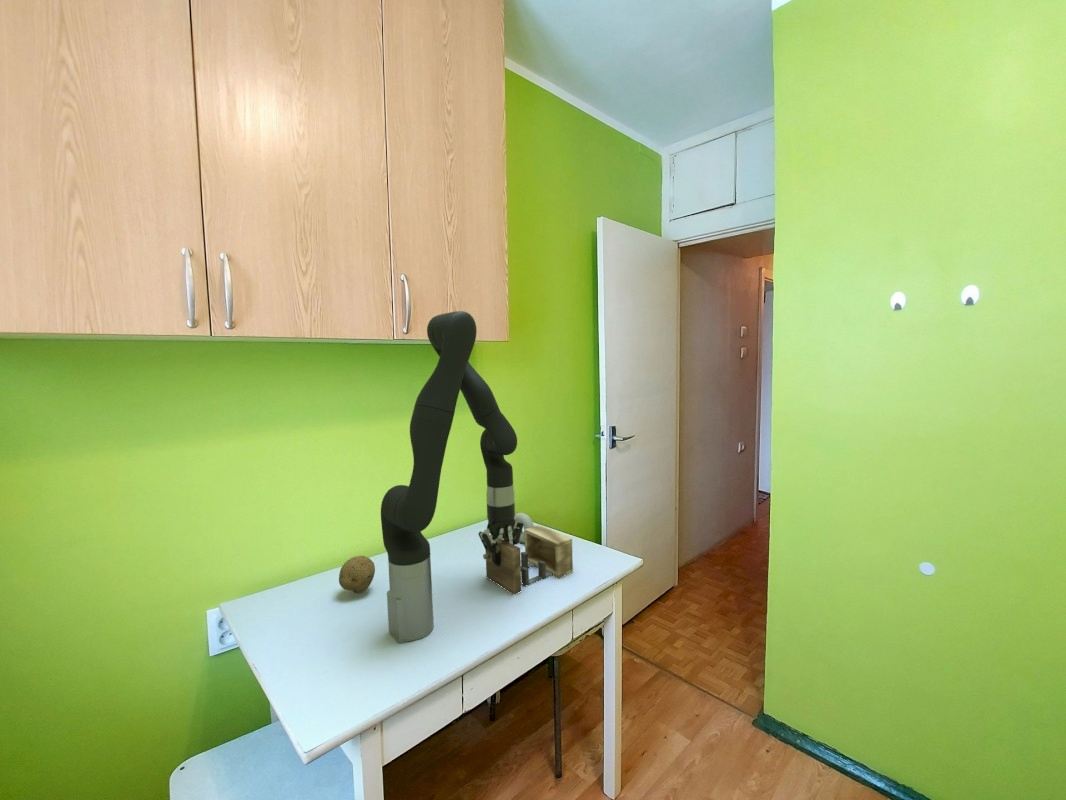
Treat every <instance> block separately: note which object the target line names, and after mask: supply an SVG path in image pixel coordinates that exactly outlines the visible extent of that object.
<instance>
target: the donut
mask: <svg viewBox="0 0 1066 800" xmlns="http://www.w3.org/2000/svg"><path fill="white" fill-rule="evenodd" d="M514 519H515V521H518V522H521V523H523V530H522V532H521V535H520V539H519V543H524V544H525V529H527V528H530V527H534V526H535V525H534V521H533V520H532V519H531V517H530V516H529V515H528V514H527V513H525V512H518V513H515V517H514ZM512 531H513V530H512ZM515 537H516V536H515Z"/></svg>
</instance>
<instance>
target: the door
mask: <svg viewBox="0 0 1066 800" xmlns="http://www.w3.org/2000/svg"><path fill="white" fill-rule="evenodd" d="M489 537H490V538H489V540H490V542H491V534H489ZM499 552H500V566H496V565H495V564H494V563H493V562H492V553H491V552H489V551H487V550H485V553H483V554H482V557H483V559H484V560H485V572H486V575H485V576H486V577H488V578H489V579H491V580H492V581H491V580H490V581H491V582H493V581H494V582H495V583H494V582H493V583H494V584H496V583H497V584H499V585H500V586H502V587H503V588H505V589H506V590H505V589H504V590H505V591H507V590H508V591H509V592H508V591H507V592H508V593H510V592H511V593H512V595H513V594H515V595H517V594H516V593H518V592H520V591H521V592H522V580H521V548H520V547H519V546H517V545H516V544H515V545H513V544H511V543H509V542H507V541H505V540H504V539H502V543H501V544H500V551H499ZM486 577H485V578H486ZM488 578H487V579H488ZM489 579H488V580H489ZM497 584H496V585H497ZM499 585H498V586H499ZM500 586H499V587H500ZM502 587H501V588H502ZM503 588H502V589H503ZM521 592H520V593H521ZM511 593H510V594H511ZM518 594H519V593H518Z"/></svg>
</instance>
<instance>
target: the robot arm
mask: <svg viewBox="0 0 1066 800" xmlns="http://www.w3.org/2000/svg"><path fill="white" fill-rule="evenodd" d="M426 334H427V338H428V340H429V343H430V344H431V346H432V348H433V349H434V351H435V353H436V354H437V356H438V357H439V358H438V361H437V364H436V367H435V368H434V370H433V372H432V373H431V375H430V377H429V378H428V379H427V380H426V382H425V383H424V385H423V387H422V388H421V389H420V392H419V394H418V395H417V397H416V400H415V402H414V406H413V411H412V415H411V417H410V421H409V422H410V423H409V438H410V444H411V449H412V455H413V467H412V474H411V477H410V480H409V484H408V485H404V484H398V485H395V486H392V487H391V488H390V489H388V490H387V492H385V494H384V495H383V497H382V501H381V504H380V521H381V531H382V532H381V533H382V541H383V542H382V543H383V545H384V548H385V552H386V553H387V560H388V561H387V565H388V579H389V581H388V582H389V590H387V592H386V602H387V604H386V605H387V622H388V632H389V633H390V634H391V636H392V637H393V638H394V639H395V641H397V643H399V644H401V643H403V642H412V641H417V640H420V639H423V638H425V637H427V636H428V635H430V634H431V633H432V631H433V630H434V621H435V620H434V605H433V586H432V585H433V584H432V563H431V562H432V561H431V560H432V559H431V546H430V542H429V540H428V539H427V538H426V537H425V536H424V535H423V533H422V531H424V530H426V529H427V528H428V527H429V526H430V524H431V522H432V520H433V519H434V515H435V513H436V509H437V503H438V496H439V488H440V480H441V474H442V470H443V469H442V468H443V463H444V458H445V454H446V449H447V444H448V439H449V436H450V432H451V429H452V425H453V421H454V416H455V411H456V407H457V402H458V397H459V395H460V392H461V393H462V396H463V398H464V399H465V402H466V404H467V406H468V409H469V411H470V412H471V414H472V417H473V420H474V421H475V423H476V424H477V425H479V426H480V427H482V428H484V430H483V432H482V433H481V436H480V442H479V445H480V451H481V455H482V459H483V463H484V466H485V468H486V495H485V496H486V519H487V522H488V523H487V526H486V528H485V529H484V530H483V531H479V532H478V537H479V539H480V541H481V543H482V545H483V547H484V550H485V551H486V550H487V551H489V552H491V553H492V562H493V563H494V564H495V565H496V566H500V552H499V551H500V544H501V543H502V539H503V540H505V541H507V542H509V543H511V544H513V545H515V546H517V545H518V544H519V543H520V541H519V539H520V535H521V532H522V531H523V530H524V527H523V523H521V522H518V521H515V519H514V517H515V514H516V504H515V503H516V502H515V489H514V476H513V475H514V472H513V471H514V470H513V466H512V464H511V463H510V462H508V460H506V459H505V456H508V455H511V454H513V453H515V451H516V449H517V446H518V438H517V433H516V431H515V430H514V428H513V426H512V424H511V423H510V422H509V420H508V419H507V417H505V415H504V414H503V413H502V411H501V409H500V407H499V404H498V402H497V400H496V397H495V395H494V394H493V391H492V389H491V387H490V386H489V385H488V382H486V381H485V380H484V379H483V377H482V376H481V375H480V374H479V373H478V371H476V370H475V368H474V367H473V366H472V364H471V363H470V361H469V360H470V358H471V354H472V352H473V349H474V346H475V343H476V340H477V324H476V321H475V318H474V316H472V315H471V314H470V313H469V312H467V311H463V310H462V311H461V310H457V311H451V312H445V313H441V314H438V315H435V316H433V317H432V318H431V319H430V320H429V322H428V323H427V326H426ZM512 530H513V531H512ZM489 535H491V542H490V540H489V538H490V537H489ZM515 536H516V537H515Z"/></svg>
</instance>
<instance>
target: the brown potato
mask: <svg viewBox="0 0 1066 800" xmlns="http://www.w3.org/2000/svg"><path fill="white" fill-rule="evenodd" d="M375 573H376V567H375V562H373V560H372V559H371V558H370V557H368V556H366V555H355V556H352V557H350V558H349V559H347V560H346V561H344V563H343V565H341V567H340V570H339V575H338V583H339V585H340V587H341V588H342V589H343V590H345V591H348V592H349V591H351V592H353V593H356V594H362V593H363V592H365V591H366V590H367V589H368V588H369V587H370V585H371V583H372V582H373V579H374V577H375Z"/></svg>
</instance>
